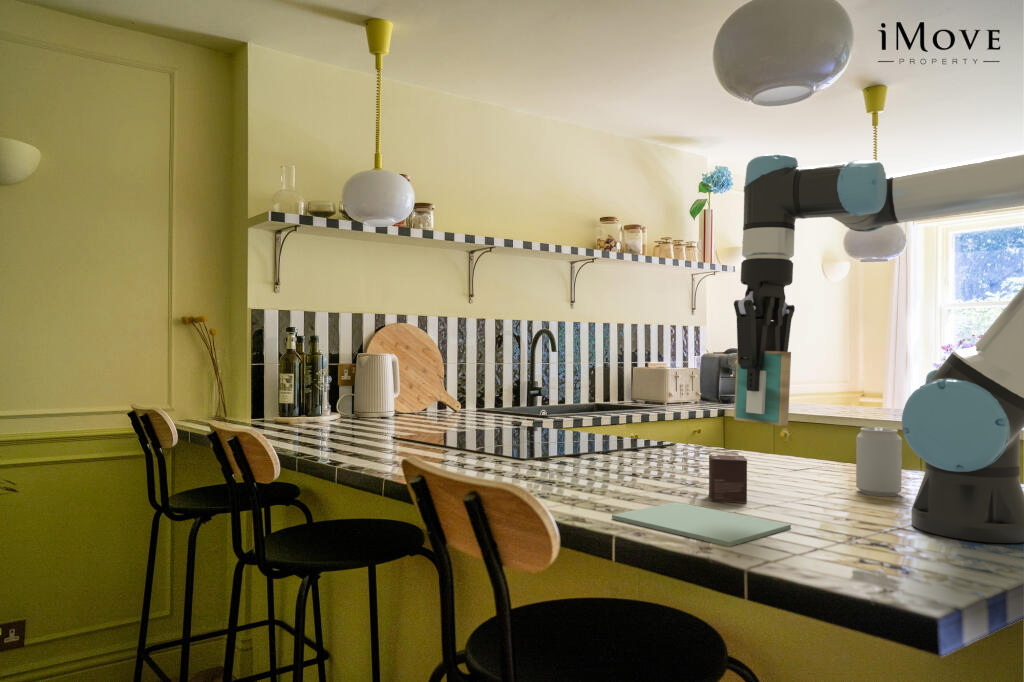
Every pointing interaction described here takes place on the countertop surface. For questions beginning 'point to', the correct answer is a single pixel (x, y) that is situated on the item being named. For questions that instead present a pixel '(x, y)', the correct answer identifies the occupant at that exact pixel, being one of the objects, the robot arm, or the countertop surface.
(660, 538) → the countertop surface
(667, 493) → the countertop surface
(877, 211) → the robot arm
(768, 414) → the tile
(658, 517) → the mat
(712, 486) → the box
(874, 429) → the can
